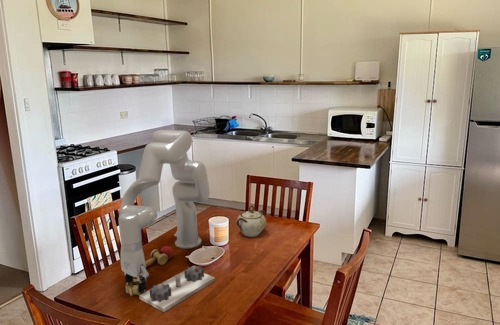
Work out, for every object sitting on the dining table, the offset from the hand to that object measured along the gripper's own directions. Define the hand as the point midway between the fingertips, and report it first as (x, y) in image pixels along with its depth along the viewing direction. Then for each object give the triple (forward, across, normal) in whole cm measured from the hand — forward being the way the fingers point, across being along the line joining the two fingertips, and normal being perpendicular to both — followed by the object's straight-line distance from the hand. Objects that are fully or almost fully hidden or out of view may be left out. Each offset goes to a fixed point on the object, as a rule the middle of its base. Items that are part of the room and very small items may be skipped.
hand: (136, 286), depth 153 cm
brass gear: (+1, 0, 0) cm, 1 cm away
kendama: (+2, -11, +18) cm, 22 cm away
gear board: (+1, +13, +10) cm, 16 cm away
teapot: (+2, +3, +68) cm, 68 cm away
